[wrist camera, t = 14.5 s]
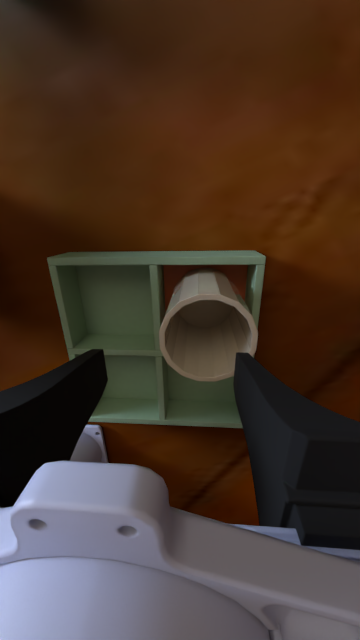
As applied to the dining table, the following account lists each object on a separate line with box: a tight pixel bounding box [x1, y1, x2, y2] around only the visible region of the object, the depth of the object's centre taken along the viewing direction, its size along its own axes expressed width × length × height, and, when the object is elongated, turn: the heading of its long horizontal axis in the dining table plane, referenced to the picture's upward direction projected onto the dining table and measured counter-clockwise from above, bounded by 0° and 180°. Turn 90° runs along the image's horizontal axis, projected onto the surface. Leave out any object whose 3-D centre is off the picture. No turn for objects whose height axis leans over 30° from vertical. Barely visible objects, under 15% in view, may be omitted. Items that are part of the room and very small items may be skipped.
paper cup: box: [159, 268, 258, 382], centre depth 18 cm, size 6×6×8 cm
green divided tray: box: [47, 251, 266, 428], centre depth 22 cm, size 16×16×4 cm
